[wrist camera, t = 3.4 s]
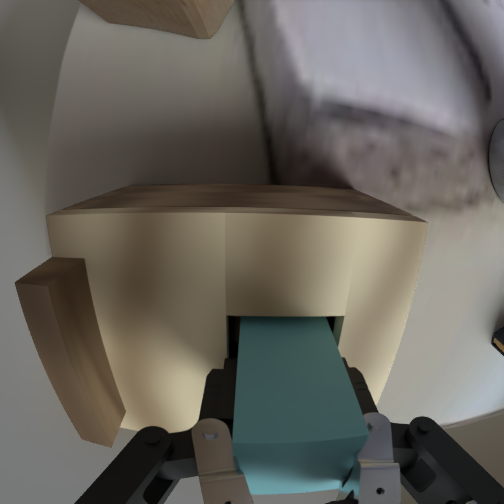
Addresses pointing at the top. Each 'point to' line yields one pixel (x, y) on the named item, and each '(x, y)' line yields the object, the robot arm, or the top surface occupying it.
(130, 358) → the lid
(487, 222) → the top surface
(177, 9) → the wooden block
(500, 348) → the ammunition clip
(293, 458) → the teal block
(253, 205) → the wooden box
